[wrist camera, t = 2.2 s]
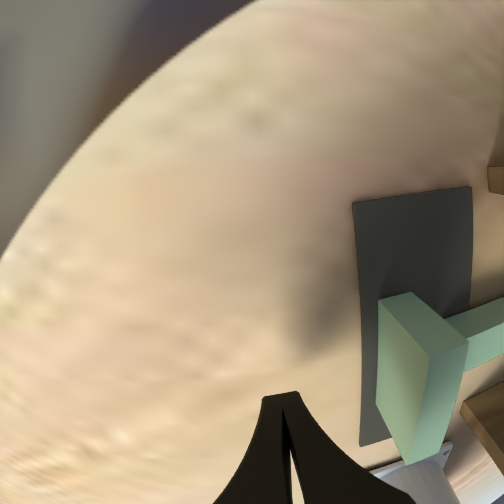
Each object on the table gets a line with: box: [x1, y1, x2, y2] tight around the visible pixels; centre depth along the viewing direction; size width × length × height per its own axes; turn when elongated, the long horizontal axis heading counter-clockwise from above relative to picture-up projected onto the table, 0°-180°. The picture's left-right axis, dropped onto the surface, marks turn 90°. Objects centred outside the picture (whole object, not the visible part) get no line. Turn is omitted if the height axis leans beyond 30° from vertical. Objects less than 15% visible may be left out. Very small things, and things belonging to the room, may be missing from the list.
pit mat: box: [352, 186, 473, 447], centre depth 13 cm, size 14×6×1 cm, turn 10°
